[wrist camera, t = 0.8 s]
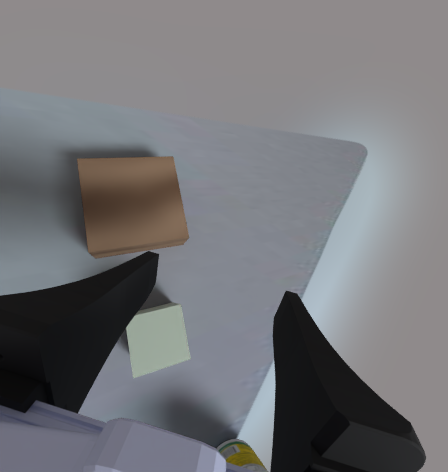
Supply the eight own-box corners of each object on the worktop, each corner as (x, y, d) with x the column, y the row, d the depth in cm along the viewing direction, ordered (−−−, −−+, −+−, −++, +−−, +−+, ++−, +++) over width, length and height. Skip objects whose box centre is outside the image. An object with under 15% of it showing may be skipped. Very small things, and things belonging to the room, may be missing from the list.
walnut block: (182, 245, 28) (189, 237, 24) (96, 258, 24) (88, 252, 21) (169, 174, 29) (173, 156, 26) (86, 178, 26) (77, 158, 22)
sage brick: (179, 345, 25) (190, 359, 19) (135, 358, 23) (133, 378, 18) (172, 302, 26) (180, 304, 20) (128, 313, 24) (124, 318, 18)
